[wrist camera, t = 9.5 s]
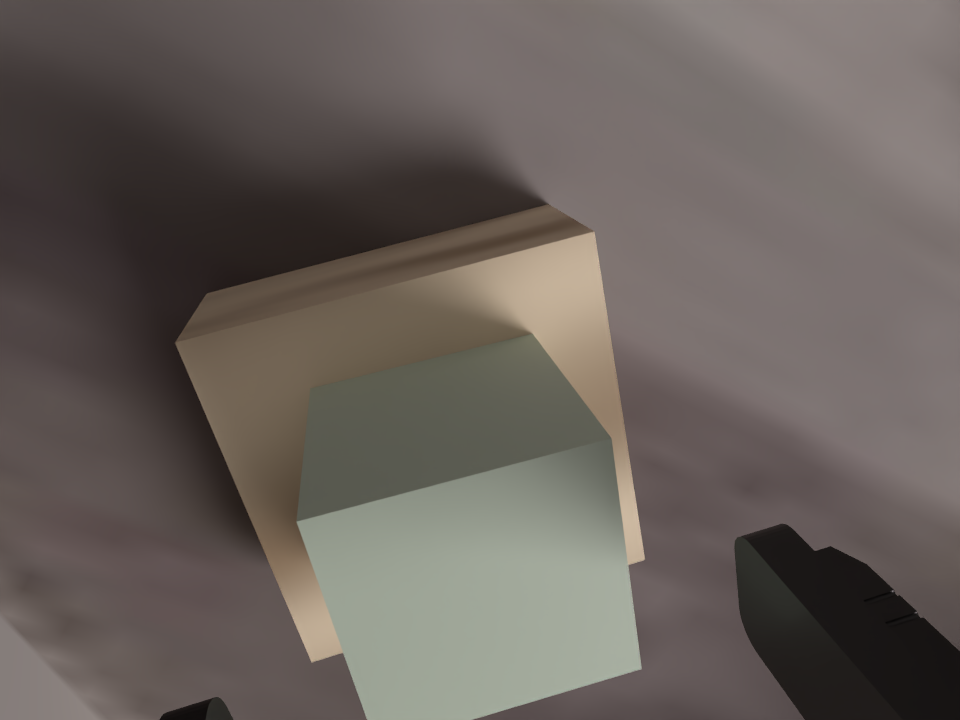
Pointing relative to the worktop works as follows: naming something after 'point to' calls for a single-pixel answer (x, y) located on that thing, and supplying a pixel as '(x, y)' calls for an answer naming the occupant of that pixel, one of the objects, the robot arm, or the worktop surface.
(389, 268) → the maple box
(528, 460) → the sage cube
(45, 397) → the worktop surface
